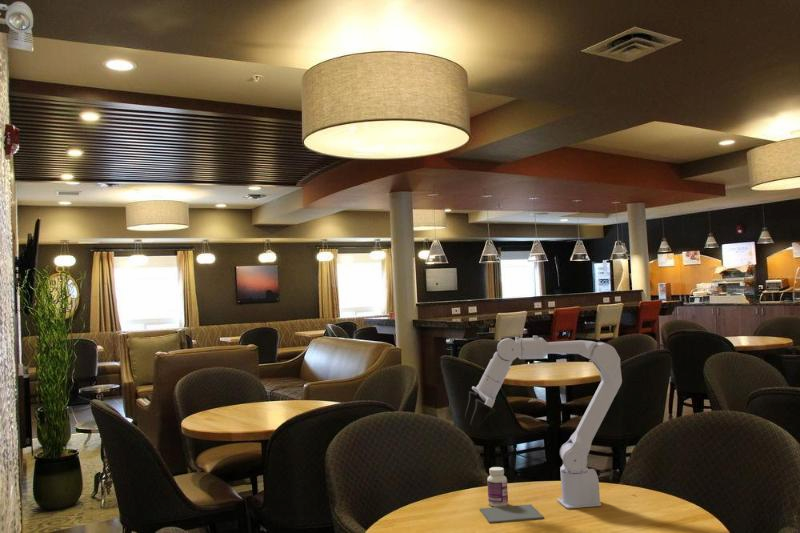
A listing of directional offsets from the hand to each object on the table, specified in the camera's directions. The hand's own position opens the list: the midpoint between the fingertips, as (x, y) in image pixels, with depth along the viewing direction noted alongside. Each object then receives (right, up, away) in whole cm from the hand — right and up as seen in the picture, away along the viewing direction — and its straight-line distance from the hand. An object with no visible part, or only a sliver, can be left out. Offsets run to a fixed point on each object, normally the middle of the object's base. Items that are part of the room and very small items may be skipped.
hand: (470, 422), depth 184 cm
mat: (+9, -21, -11) cm, 26 cm away
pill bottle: (+7, -22, -3) cm, 23 cm away
